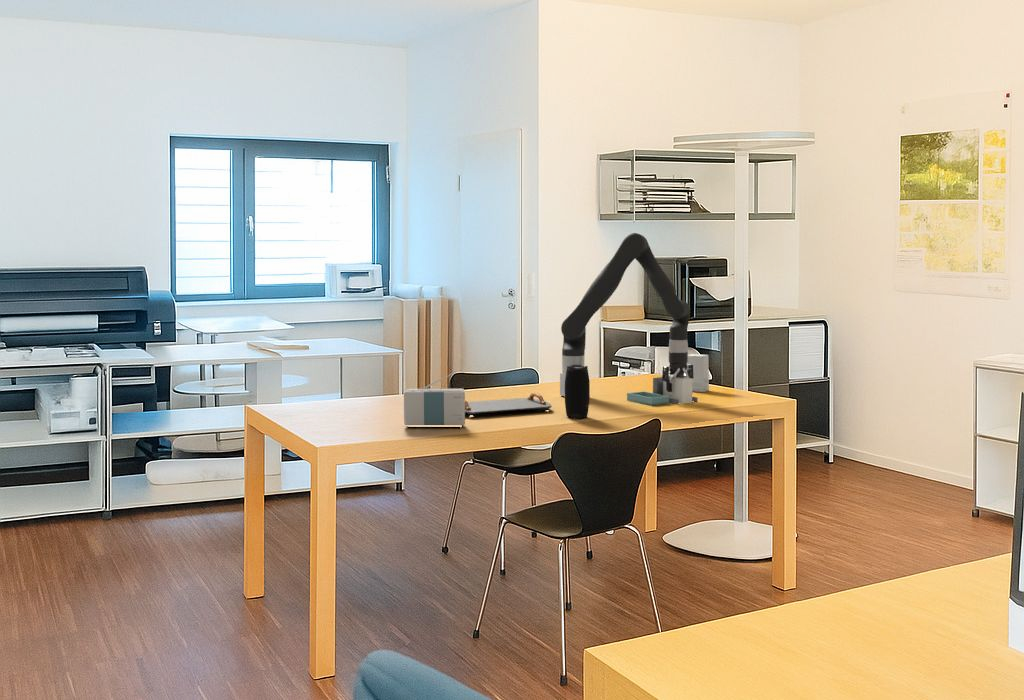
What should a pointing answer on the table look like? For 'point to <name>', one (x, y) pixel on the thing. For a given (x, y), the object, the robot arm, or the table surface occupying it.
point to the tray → (648, 398)
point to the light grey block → (680, 389)
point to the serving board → (506, 405)
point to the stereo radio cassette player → (434, 406)
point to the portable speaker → (577, 391)
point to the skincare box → (699, 372)
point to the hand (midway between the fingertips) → (677, 391)
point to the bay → (659, 390)
